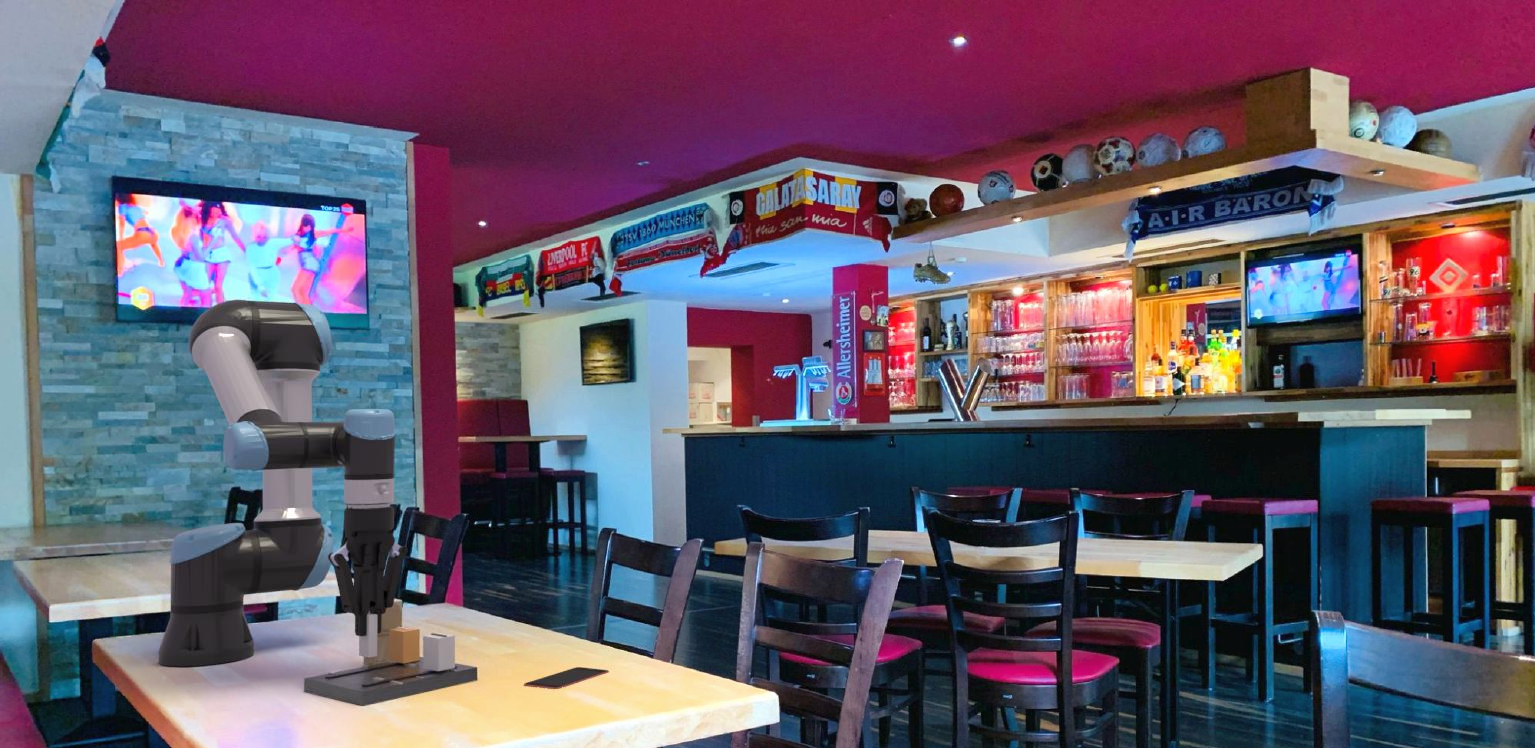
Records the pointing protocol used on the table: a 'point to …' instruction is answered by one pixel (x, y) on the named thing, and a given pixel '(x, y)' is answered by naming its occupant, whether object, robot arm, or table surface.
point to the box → (386, 633)
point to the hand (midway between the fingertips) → (368, 655)
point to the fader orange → (404, 645)
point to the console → (386, 681)
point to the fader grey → (438, 651)
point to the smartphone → (566, 678)
